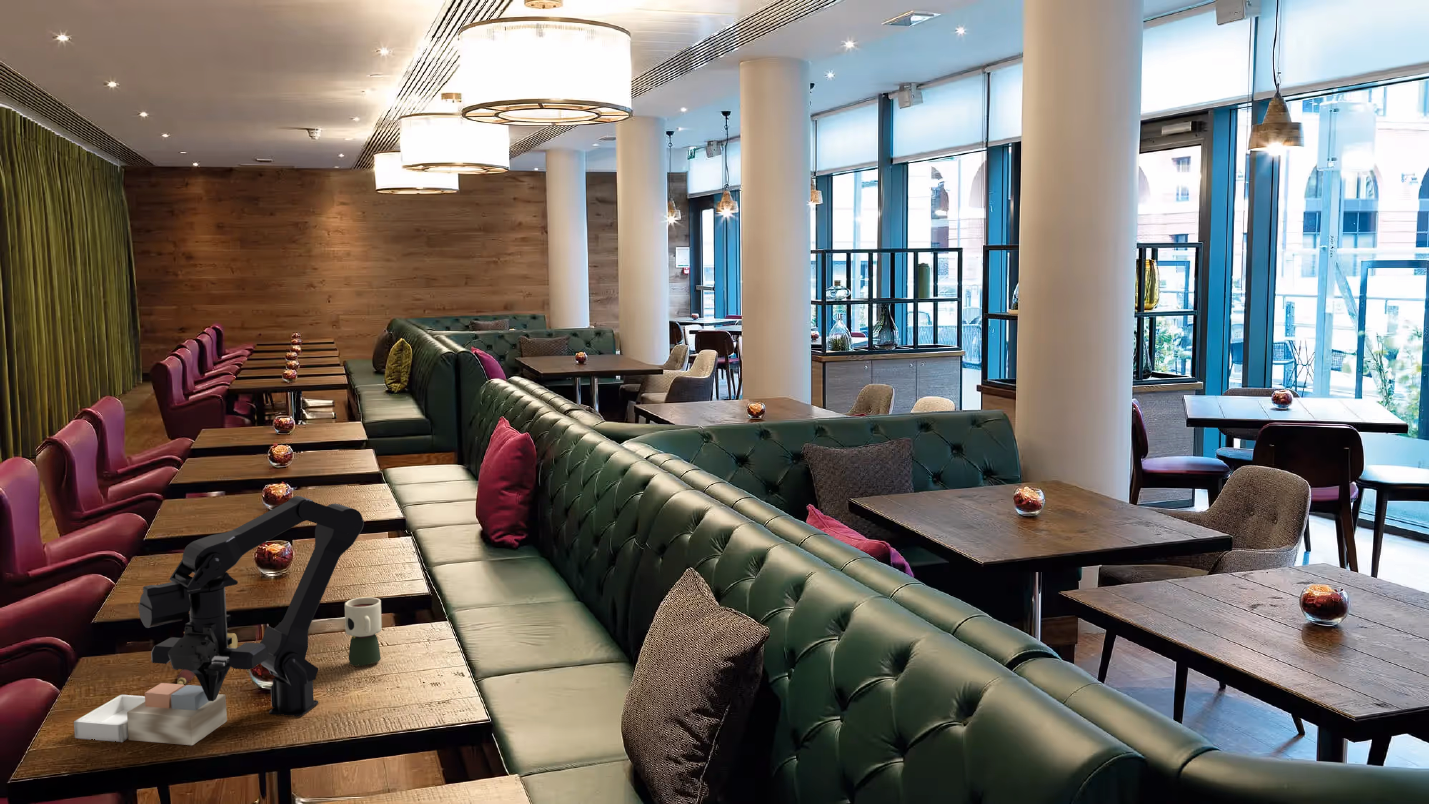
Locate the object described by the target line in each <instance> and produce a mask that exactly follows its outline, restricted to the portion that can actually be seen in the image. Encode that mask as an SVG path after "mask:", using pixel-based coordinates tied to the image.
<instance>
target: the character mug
mask: <svg viewBox="0 0 1429 804" xmlns="http://www.w3.org/2000/svg"><path fill="white" fill-rule="evenodd" d="M344 627H345V628H344V629H345V630H344V631H345V633H346V635H347V636H351V639H350V642H349V652H348V662H349V665H351V666H355V667H362V666H365V667H367V666H368V665H370V664H375V663H378V662H380V660H381V658H382V657H381V653H380V652H381V650H380V643H379V639H378V636H377V635H376V634H379V633H380V632H382V600H381V599H380V598H377V597H372V596H365V597H357V598H352V599H349V600H347V601H345V602H344Z"/></svg>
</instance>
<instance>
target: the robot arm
mask: <svg viewBox="0 0 1429 804" xmlns="http://www.w3.org/2000/svg"><path fill="white" fill-rule="evenodd" d="M303 522H311V523H313V524H315V529H314V549H313V551H312V553H311V555H310V558H309V560H308V563H307V564H306V567H305V569H304V571H303V574H302V576H301V578H300V580H299V583H298V584H297V587H296V589H295V591H294V594H293V596H292V598H291V600H290V603H289V605H288V608H287V610H286V613H284V614H285V615H284V616H283V619H282V620H281V622H278V624H277V625H276V626H275V627H274V628H273V627H271V626H269V625H268V626H266V628H265V630H264V633H263V636H262V639H261V641H260V642H258V643H257V642H244V643H243V644H241V645H239V646H237V648H228V645H230V644H232V638H229V637H227V634H228V623H229V622H231V621H232V615H231V614H227V604H226V603H227V602H226V601H227V598H226V597H227V596H226V588H227V587H231V586H236V585H238V583H239V582H238V580H237V579H234V577H232V576H231V575H230V573H229V572H228V571H229V570H230V569H232V568H233V567H235V566H236V565H237V563H238V562H239V561H240V559H241V558H242V557H243V556H244V555H246V554H247V553H248V552H250V551H252V550H253V549H256V548H257V547H259V546H260V545H263V544H264V543H267V542H269V541H270V540H272V539H274V538H275V537H277V536H279V535H281V534H283V533H284V532H287V531H289V530H290V529H292V528H294V527H296V526H297V525H299V524H301V523H303ZM364 522H365V521H364V518H363V516H362V514H361V512H360V511H359V510H357V509H355V508H352V507H349V506H346V505H344V504H343V505H342V504H341V503H330V504H328V505H324V504H321V503H318V502H315V501H314V500H312V499H310V498H307V497H304V496H301V495H295V496H293V497H291V498H290V499H288V501H286V502H284V503H282V504H280V505H278V506H276V507H274V508H272V509H270V510H269V511H267V512H265V513H262V514H261V515H259V516H257V517H255V518H253V519H252V520H250V521H247V522H245V523H244V524H242V525H240V526H238V527H236V528H234V529H233V530H228V531H227V532H222V533H215V534H210V535H208V536H205V537H202V538H199V539H197V540H193V541H191V542H189V544H187V545H186V547H185V548H184V551H183V553H182V559H181V560H180V562H179V563H178V565H177V567H176V568H175V570H174V571H173V573H172V574H171V575H170V576H169V581H170V582H166V583H159V584H150V585H145V586H143V587H142V593H141V595H140V599H139V603H138V612H139V613H138V614H139V618H140V621H141V622H142V625H143V626H144V627H145V628H146V629H149V628H153V627H158V626H162V625H166V624H171V623H176V622H180V621H184V619H185V618H186V617H189V622H187V623H185V624H184V625H185V627H184V633H183V637H169V638H167V639H165V640H164V641H161V642H160V643H157V644H155V645H154V646H153V648H152V650H151V651H150V652H151V653H150V654H151V655H150V656H151V658H150V659H151V663H152V664H164V665H167V664H168V663H169V662H170V665H171V666H172V669H173V670H175V671H178V670H183V669H185V670H189V671H191V672H193V673H194V674H195V677H196V679H197V680H198V682H199V684H200V686H202V688H203V691H204V693H205V695H206V697H207V699H208V701H214V700H216V698H217V696H218V694H220V691H221V688H222V685H223V684H224V680H225V678H226V676H227V674H228V672H229V670H230V668H232V669H233V670H234V669H235V670H244V671H245V670H246V671H247V670H252V669H255V668H256V667H257V666H259V665H260V664H261V666H262V667H264V668H266V669H267V670H268V672H269V675H272V676H275V677H273V678H272V685H270V700H271V707H272V708H271V709H270V710H269V711H268V714H269V715H275V716H287V717H289V716H290V717H303V716H304V715H305V714H307V713H308V712H310V710H312V709H313V708H314V707H316V706H317V705H318V704H319V700H317V699H316V700H315V699H314V698H315V697H314V681H315V680H316V678H317V675H318V671H319V668H318V667H317V666H316V665H314V664H313V663H311V662H310V661H309V660H307V659H306V657H307V653H308V649H309V629H310V626H311V623H312V622H313V620H314V617H315V615H316V612H317V610H318V608H319V605H320V603H321V601H322V598H323V597H324V595H325V592H326V589H327V587H328V584H329V582H330V581H331V578H332V576H333V574H334V571H335V569H336V566H337V564H338V562H339V560H340V558H341V556H342V555H344V554H345V552H347V551H348V549H350V548H351V547H352V546H353V545H354V544H355V542H356V540H357V539H358V537H359V536H360V534H361V532H362V531H363V528H364V525H365V523H364ZM191 574H193V575H192V576H190V575H191Z"/></svg>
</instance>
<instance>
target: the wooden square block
mask: <svg viewBox="0 0 1429 804" xmlns="http://www.w3.org/2000/svg"><path fill="white" fill-rule="evenodd" d="M226 699H227V697H226V694H223V693H222V694H220V693H218V696H217V698H216V700H214V701H209V702H208V703H206V704H205V705H203V706H202V707H200V708H199V709H197V710H183V709H172V707H170V708H158V707H146V706H145V702H143V703H142V704H140V705H138V706H137V707H135V708H133V709H132V710H130V711H128V712H127V720H128V736H129V738H128V741H138V742H139V741H140V742H149V743H162V744H172V745H173V744H175V745H183V746H184V745H185V746H186V745H187V746H194V745H195V744H196V743H198V742H199V741H201V740H203V739H204V738H205V737H206V736H209V735H210V734H211V733H212V732H214V731H216V729H218V728H219V727H221V726H222V725H224V724H225V723H226V722H227V721H228V717H227V716H228V715H227V714H228V713H227V700H226Z"/></svg>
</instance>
